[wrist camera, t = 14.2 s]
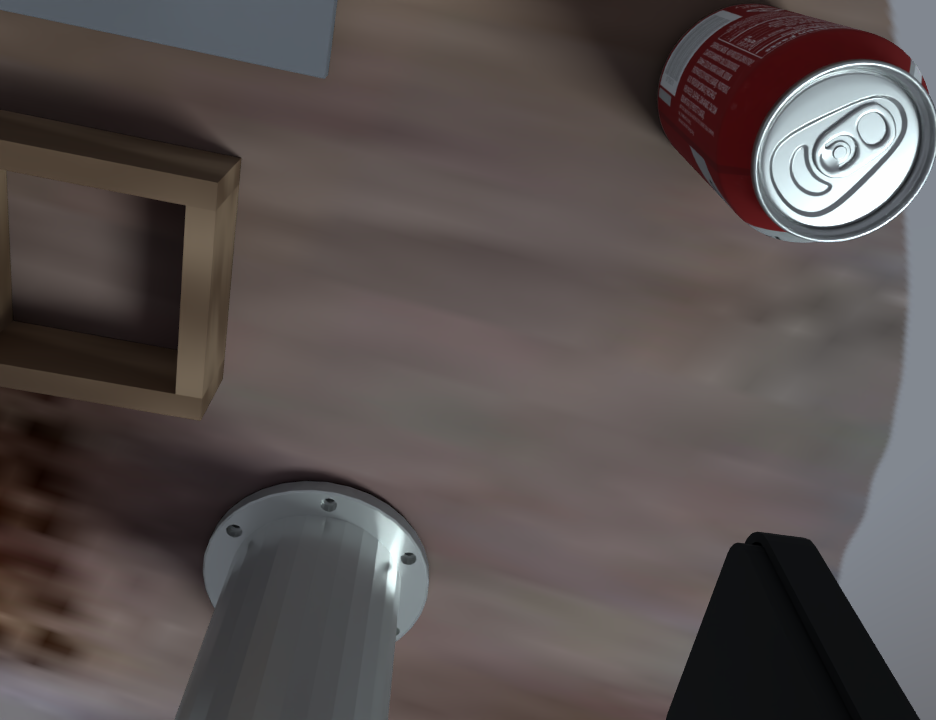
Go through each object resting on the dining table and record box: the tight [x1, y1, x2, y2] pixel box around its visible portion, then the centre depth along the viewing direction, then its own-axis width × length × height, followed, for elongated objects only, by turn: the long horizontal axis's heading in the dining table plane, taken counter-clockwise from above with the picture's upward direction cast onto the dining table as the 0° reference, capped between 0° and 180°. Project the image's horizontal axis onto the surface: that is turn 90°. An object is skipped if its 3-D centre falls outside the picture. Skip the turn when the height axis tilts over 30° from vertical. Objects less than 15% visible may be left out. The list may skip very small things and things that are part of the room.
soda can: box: [657, 3, 936, 243], centre depth 31 cm, size 7×7×12 cm
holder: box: [0, 110, 241, 421], centre depth 37 cm, size 11×11×4 cm
